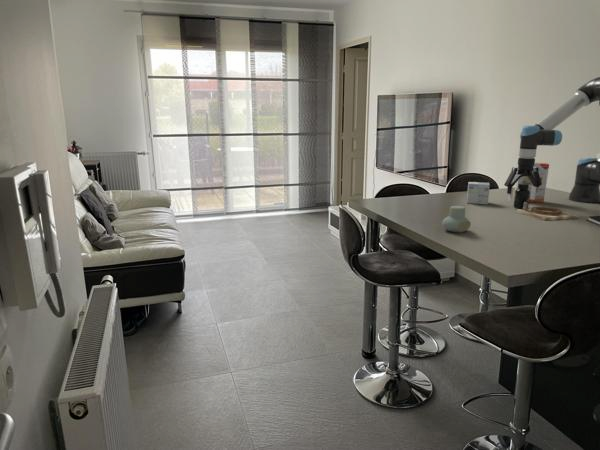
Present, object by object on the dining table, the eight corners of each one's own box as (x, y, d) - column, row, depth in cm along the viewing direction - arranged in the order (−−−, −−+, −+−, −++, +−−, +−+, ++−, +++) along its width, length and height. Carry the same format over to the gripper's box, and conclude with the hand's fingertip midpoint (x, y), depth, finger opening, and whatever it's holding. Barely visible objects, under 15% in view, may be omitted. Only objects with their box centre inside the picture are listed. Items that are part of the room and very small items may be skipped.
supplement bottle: (529, 209, 228) (532, 185, 225) (515, 208, 229) (517, 185, 226) (525, 206, 234) (528, 183, 231) (511, 206, 236) (514, 182, 233)
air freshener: (453, 234, 182) (456, 210, 179) (438, 230, 189) (440, 206, 186) (473, 231, 187) (475, 207, 184) (457, 227, 194) (459, 203, 191)
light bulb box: (487, 202, 245) (489, 182, 242) (488, 204, 239) (490, 184, 236) (466, 201, 248) (468, 181, 246) (466, 203, 242) (468, 183, 239)
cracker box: (515, 201, 247) (520, 162, 242) (513, 199, 253) (518, 161, 248) (544, 203, 243) (549, 163, 238) (541, 201, 249) (547, 162, 244)
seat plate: (547, 210, 227) (548, 199, 225) (577, 218, 210) (578, 207, 208) (516, 211, 222) (517, 201, 221) (544, 220, 205) (545, 209, 204)
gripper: (542, 156, 232) (536, 197, 237) (500, 157, 226) (494, 199, 231) (553, 158, 225) (547, 200, 230) (510, 158, 219) (504, 202, 224)
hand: (521, 199), depth 231 cm, fingers open, 13 cm apart
